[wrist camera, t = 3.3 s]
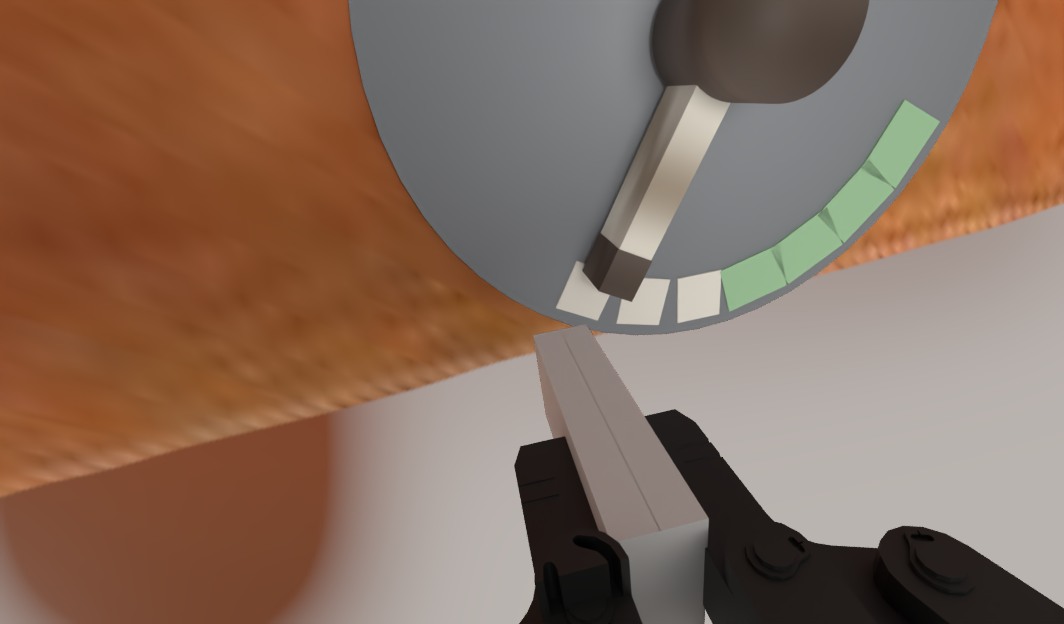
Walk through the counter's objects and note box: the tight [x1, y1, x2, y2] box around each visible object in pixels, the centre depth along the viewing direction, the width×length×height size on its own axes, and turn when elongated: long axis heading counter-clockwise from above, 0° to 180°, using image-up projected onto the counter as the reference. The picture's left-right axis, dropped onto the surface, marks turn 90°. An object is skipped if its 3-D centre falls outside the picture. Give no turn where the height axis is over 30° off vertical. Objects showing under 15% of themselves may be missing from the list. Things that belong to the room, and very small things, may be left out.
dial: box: [349, 0, 998, 335], centre depth 19 cm, size 28×28×1 cm
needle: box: [582, 0, 869, 302], centre depth 18 cm, size 14×5×5 cm, turn 158°
